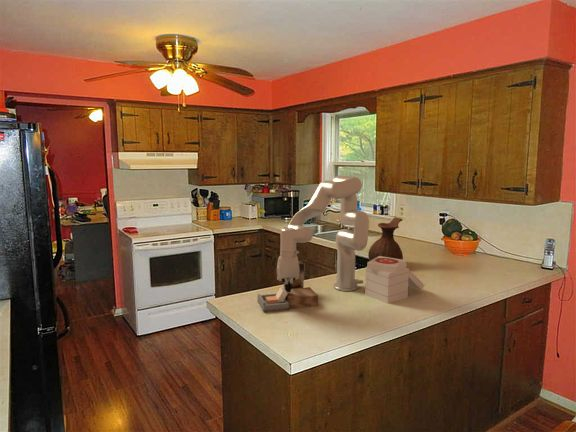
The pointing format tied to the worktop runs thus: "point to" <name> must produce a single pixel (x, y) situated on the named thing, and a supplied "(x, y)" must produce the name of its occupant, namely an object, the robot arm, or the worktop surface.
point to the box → (271, 307)
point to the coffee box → (299, 282)
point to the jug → (386, 242)
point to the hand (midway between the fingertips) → (288, 291)
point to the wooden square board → (302, 298)
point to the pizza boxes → (389, 279)
